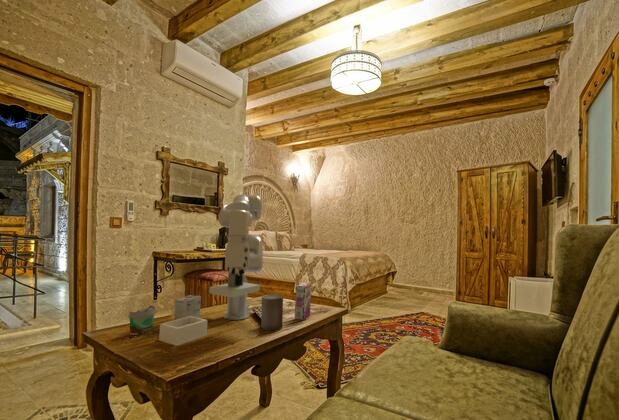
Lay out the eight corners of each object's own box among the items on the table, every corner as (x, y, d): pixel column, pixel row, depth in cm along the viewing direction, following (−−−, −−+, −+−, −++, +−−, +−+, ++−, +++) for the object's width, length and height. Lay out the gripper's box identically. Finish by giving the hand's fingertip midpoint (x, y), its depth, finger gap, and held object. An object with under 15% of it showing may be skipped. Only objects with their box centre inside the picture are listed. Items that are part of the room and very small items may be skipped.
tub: (189, 333, 131) (190, 315, 131) (206, 337, 126) (207, 319, 126) (158, 343, 119) (160, 324, 119) (176, 348, 114) (177, 328, 114)
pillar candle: (286, 326, 144) (287, 292, 145) (274, 331, 135) (275, 296, 136) (268, 323, 148) (269, 290, 150) (256, 328, 140) (257, 294, 141)
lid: (238, 287, 139) (239, 270, 140) (259, 291, 133) (260, 273, 133) (209, 293, 126) (210, 274, 126) (231, 297, 119) (232, 277, 120)
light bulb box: (188, 317, 154) (190, 294, 155) (200, 318, 152) (201, 295, 153) (173, 323, 144) (174, 299, 145) (185, 324, 142) (186, 300, 143)
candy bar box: (303, 320, 153) (304, 286, 154) (294, 319, 155) (295, 285, 156) (310, 315, 164) (311, 283, 165) (301, 314, 165) (302, 282, 166)
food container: (140, 339, 122) (142, 313, 122) (127, 338, 123) (128, 312, 124) (161, 330, 134) (163, 306, 134) (149, 328, 135) (150, 305, 136)
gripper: (258, 240, 130) (256, 285, 128) (230, 238, 138) (228, 281, 137) (245, 240, 123) (243, 288, 122) (217, 238, 132) (215, 283, 131)
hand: (235, 284), depth 130 cm, fingers closed on lid, 2 cm apart
